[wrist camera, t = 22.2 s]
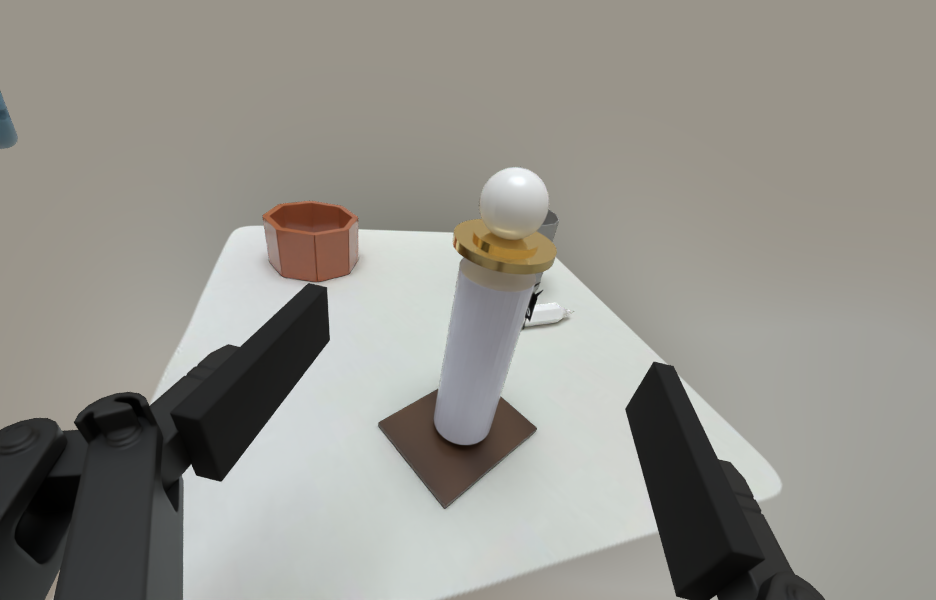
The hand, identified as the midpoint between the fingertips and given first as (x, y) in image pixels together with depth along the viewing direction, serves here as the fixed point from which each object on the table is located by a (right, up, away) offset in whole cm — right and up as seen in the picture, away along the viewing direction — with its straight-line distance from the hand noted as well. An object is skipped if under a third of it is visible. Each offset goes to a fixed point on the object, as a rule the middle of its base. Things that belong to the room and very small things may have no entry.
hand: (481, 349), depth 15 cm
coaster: (-1, -8, +14) cm, 17 cm away
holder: (-20, +7, +32) cm, 38 cm away
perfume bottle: (-1, -8, +14) cm, 16 cm away
